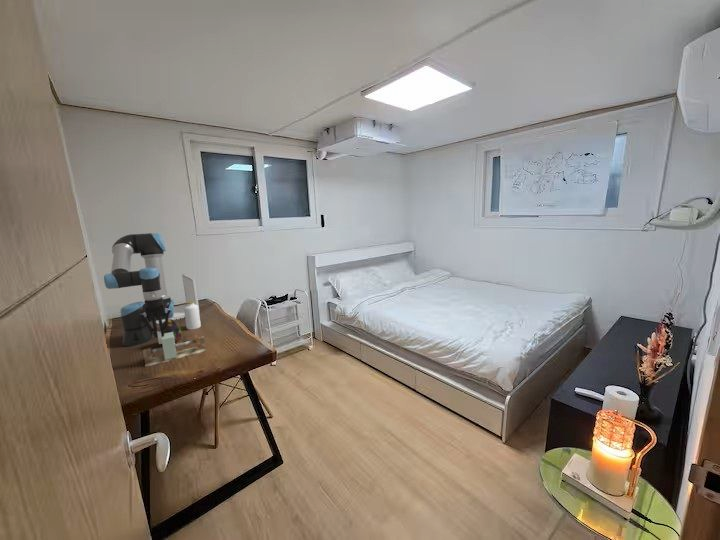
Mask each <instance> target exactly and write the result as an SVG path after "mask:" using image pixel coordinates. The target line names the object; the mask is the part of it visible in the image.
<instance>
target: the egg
mask: <svg viewBox="0 0 720 540" xmlns="http://www.w3.org/2000/svg"><path fill="white" fill-rule="evenodd" d="M162 324H163V326H164V325H165V321H164V322H163V323H162ZM170 332H173V334H174V341H175V344H179V343H180V340H181V339H182V336H183V332H182V328H181V327H180V325H179V324H178V322H176V320H172V319H168V325H167V329H164V334H165V333H170Z"/></svg>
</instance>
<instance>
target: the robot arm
mask: <svg viewBox="0 0 720 540" xmlns="http://www.w3.org/2000/svg"><path fill="white" fill-rule="evenodd" d="M166 251H167V249H166V246H165V244H164V240H163V236H162V235H161V233H158V232H157V233H156V232H155V233H153V232H149V233H148V232H147V233H130V234H126V235H123V236H122V237H119V238H118V239H117V240H116V241H114V243H113V244H112V247H111V252H112V254H113V257H112V265H111V271H110V273H105V275H103V282H104V287H106V289H108V290H111V289H113V290H114V289H121V288H130V287H137V286H141V289H142V296H143V300H144V301H136V302H133V303H132V302H131V303H129V304H127V305H126V304H125V305H124V306H122V307H121V308H120V317H121V323H122V327H123V336H122V340H121V342H122V346H125V347H132V346H133V347H134V346H138V345H142V344H146V343H148V342H149V341H151V340H153V339H154V338H156V339H157V340H158V344H159V345H161V344H162V337H163V336H164V329H167V325H168V319H169V318H172V317H173V316H174V305H175V302H174V301H175V300H174V299H172V298H171V296H170V295H169V294H168V291H167V285H166V279H165V271H164V268H163V260H162V257H163V256H164V254H165V253H164V252H166ZM134 254H136V255H137V254H140V256H141V258H142V259H144V265H145V267H144V268H140V269H139V270H133V271H132V270H131V266H132V265H131V262H132V255H134ZM164 319H165V325H164V326H163V323H162V320H164ZM156 321H159V324H157V323H156ZM151 323H152V325H151ZM158 326H159V330H158Z"/></svg>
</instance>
